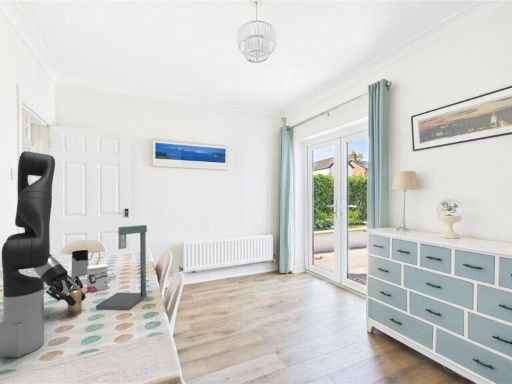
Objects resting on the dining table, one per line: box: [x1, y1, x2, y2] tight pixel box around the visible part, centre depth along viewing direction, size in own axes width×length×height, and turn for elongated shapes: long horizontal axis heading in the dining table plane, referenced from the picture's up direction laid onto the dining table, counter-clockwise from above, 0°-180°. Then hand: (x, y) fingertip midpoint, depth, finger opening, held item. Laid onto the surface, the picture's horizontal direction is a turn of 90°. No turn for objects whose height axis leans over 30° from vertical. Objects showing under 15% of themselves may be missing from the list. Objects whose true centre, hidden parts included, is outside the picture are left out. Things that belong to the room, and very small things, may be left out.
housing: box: [67, 286, 83, 317], centre depth 102 cm, size 4×4×10 cm
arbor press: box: [95, 224, 148, 311], centre depth 112 cm, size 15×15×32 cm
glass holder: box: [71, 249, 101, 278], centre depth 148 cm, size 9×14×15 cm, turn 132°
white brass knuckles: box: [79, 270, 117, 285], centre depth 142 cm, size 3×18×15 cm
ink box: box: [86, 263, 109, 294], centre depth 127 cm, size 8×5×12 cm, turn 123°
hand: (79, 301), depth 102 cm, fingers closed on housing, 4 cm apart
